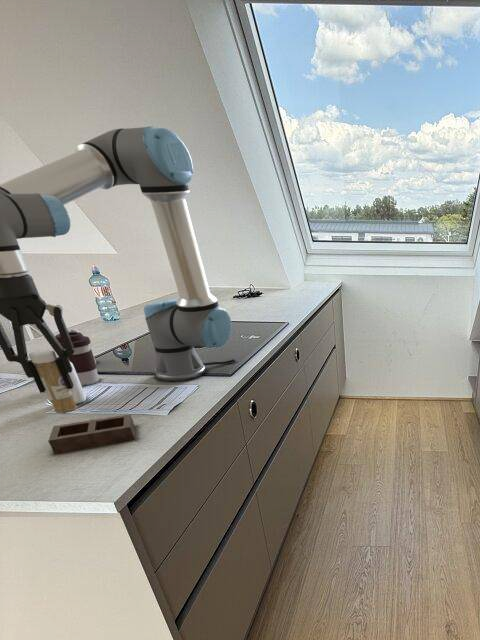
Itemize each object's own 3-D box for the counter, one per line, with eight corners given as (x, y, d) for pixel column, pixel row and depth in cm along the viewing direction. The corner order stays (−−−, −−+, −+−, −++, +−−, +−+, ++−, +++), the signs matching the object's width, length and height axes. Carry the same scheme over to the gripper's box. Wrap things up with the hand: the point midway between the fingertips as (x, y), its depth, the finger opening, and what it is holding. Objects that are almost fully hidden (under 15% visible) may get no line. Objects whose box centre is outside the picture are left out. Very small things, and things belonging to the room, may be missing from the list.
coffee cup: (61, 385, 143) (40, 336, 135) (90, 375, 151) (72, 329, 143) (83, 389, 140) (63, 339, 132) (111, 379, 148) (94, 332, 140)
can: (74, 406, 128) (57, 364, 121) (55, 404, 129) (36, 363, 122) (92, 398, 133) (76, 357, 127) (73, 396, 134) (56, 356, 128)
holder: (134, 426, 116) (130, 413, 115) (135, 440, 110) (130, 427, 108) (59, 439, 110) (53, 425, 108) (54, 454, 103) (48, 440, 101)
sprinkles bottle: (73, 413, 103) (48, 354, 96) (51, 415, 102) (24, 355, 95) (81, 405, 107) (57, 348, 99) (59, 407, 106) (33, 349, 98)
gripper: (62, 270, 95) (102, 377, 108) (-44, 275, 88) (12, 389, 101) (57, 274, 89) (101, 387, 102) (-56, 280, 83) (5, 401, 95)
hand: (57, 388), depth 101 cm, fingers closed on sprinkles bottle, 5 cm apart
